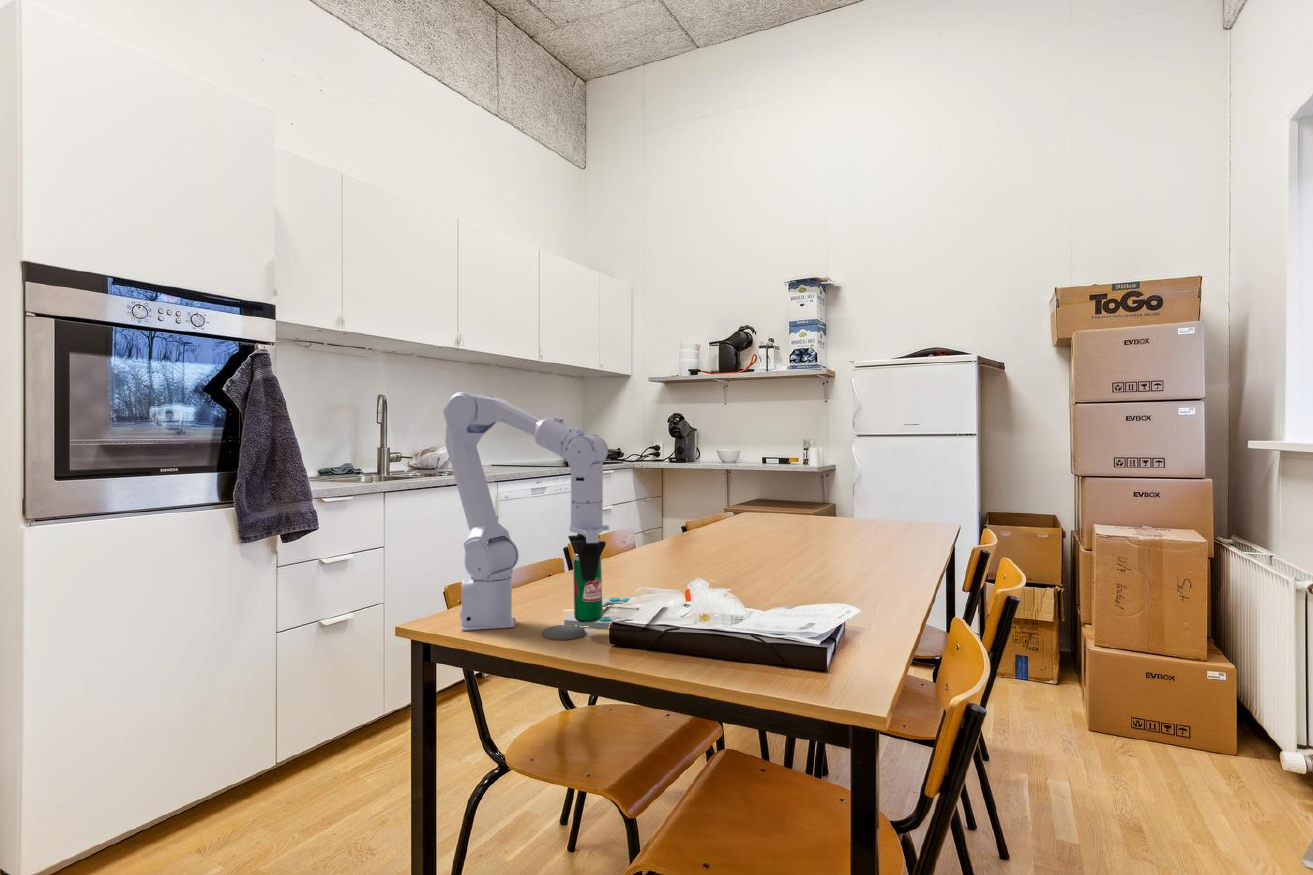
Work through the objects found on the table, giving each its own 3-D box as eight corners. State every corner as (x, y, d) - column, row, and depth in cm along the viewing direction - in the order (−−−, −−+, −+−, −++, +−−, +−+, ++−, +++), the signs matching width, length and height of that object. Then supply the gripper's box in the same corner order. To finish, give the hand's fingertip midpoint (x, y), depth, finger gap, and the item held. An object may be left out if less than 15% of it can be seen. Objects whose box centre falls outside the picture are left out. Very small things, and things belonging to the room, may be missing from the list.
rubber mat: (544, 641, 119) (544, 638, 119) (541, 629, 126) (541, 626, 126) (587, 638, 121) (587, 635, 121) (581, 626, 128) (581, 623, 128)
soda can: (586, 624, 120) (584, 555, 120) (568, 620, 123) (567, 553, 124) (608, 619, 123) (606, 552, 123) (591, 614, 127) (589, 549, 127)
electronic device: (641, 622, 125) (564, 617, 129) (641, 635, 125) (564, 629, 129) (664, 599, 143) (596, 595, 147) (664, 610, 143) (596, 606, 147)
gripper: (616, 505, 117) (615, 584, 117) (602, 497, 131) (601, 568, 131) (574, 506, 116) (574, 586, 116) (565, 498, 130) (564, 570, 130)
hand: (586, 577), depth 123 cm, fingers closed on soda can, 5 cm apart
